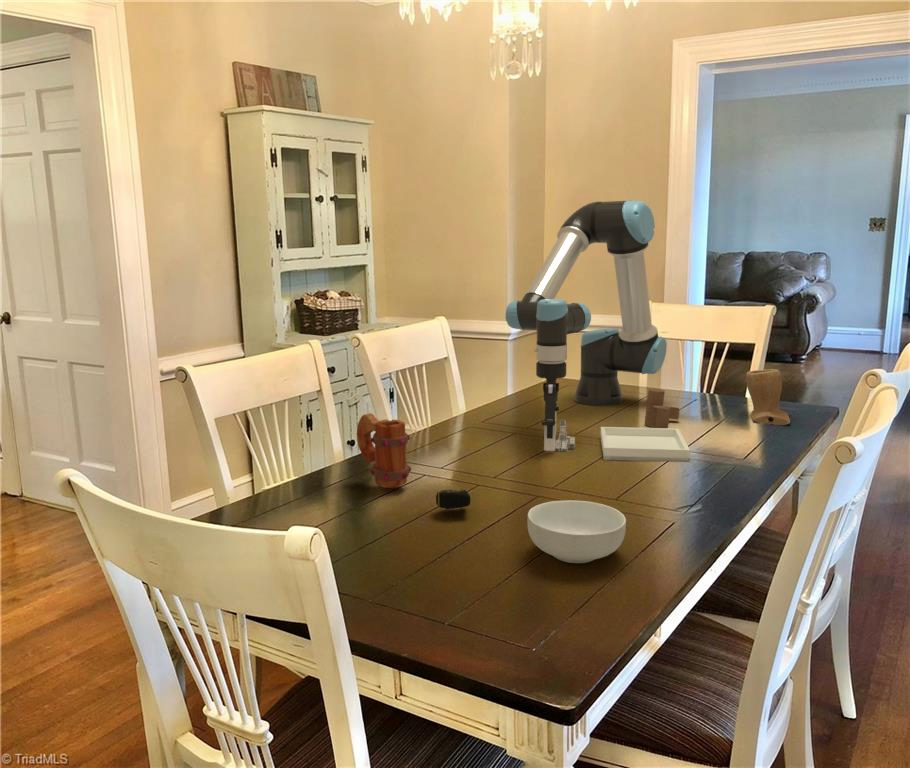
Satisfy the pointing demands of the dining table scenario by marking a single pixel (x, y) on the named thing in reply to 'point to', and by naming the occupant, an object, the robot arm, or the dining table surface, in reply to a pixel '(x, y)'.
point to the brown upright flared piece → (766, 396)
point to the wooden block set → (659, 410)
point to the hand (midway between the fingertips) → (550, 443)
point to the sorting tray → (643, 444)
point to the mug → (384, 449)
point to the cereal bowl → (576, 529)
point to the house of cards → (564, 439)
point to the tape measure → (452, 499)
